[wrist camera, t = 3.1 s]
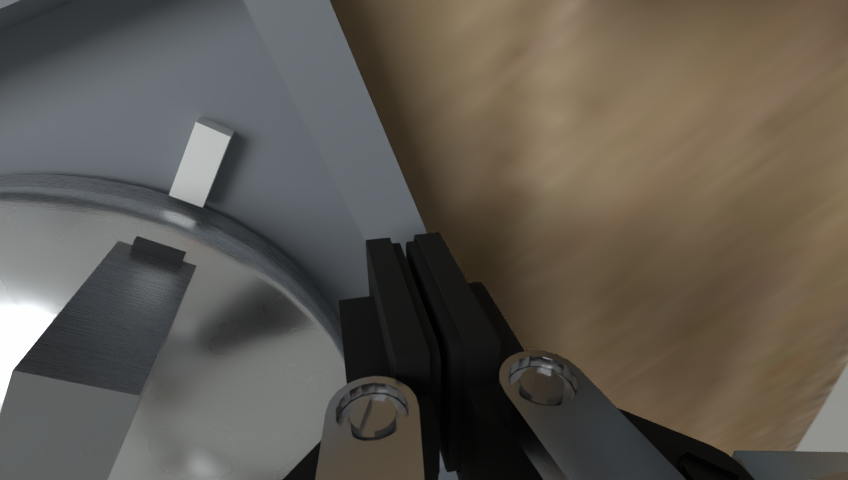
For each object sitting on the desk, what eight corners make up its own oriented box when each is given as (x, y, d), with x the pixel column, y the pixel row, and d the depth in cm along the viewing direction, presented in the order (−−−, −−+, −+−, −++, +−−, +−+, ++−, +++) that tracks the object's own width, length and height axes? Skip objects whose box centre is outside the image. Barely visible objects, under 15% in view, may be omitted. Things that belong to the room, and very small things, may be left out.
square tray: (510, 437, 21) (539, 500, 18) (57, 643, 20) (19, 738, 18) (256, -162, 10) (236, -222, 7) (-736, 252, 9) (-1140, 347, 7)
